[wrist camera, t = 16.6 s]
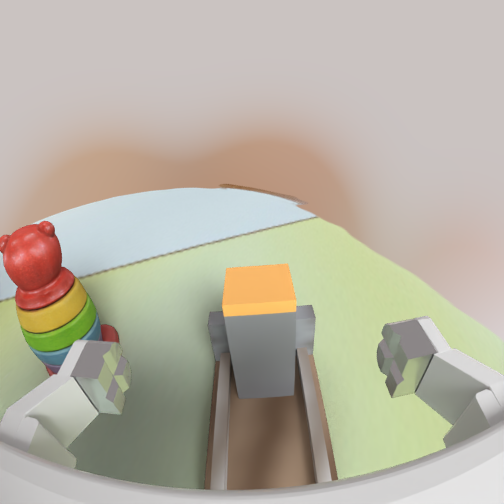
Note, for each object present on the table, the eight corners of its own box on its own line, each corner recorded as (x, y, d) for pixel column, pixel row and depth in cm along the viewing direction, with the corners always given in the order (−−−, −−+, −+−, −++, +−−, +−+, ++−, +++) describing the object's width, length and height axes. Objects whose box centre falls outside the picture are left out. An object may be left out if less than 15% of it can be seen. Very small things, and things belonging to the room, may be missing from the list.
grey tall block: (238, 398, 25) (222, 305, 20) (239, 360, 30) (226, 268, 25) (293, 395, 25) (296, 300, 20) (288, 356, 30) (287, 263, 25)
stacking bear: (117, 327, 37) (75, 199, 29) (125, 381, 28) (61, 228, 20) (50, 345, 33) (-3, 225, 25) (44, 400, 25) (-36, 262, 17)
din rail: (205, 510, 16) (185, 490, 13) (218, 353, 32) (209, 312, 29) (339, 502, 16) (355, 480, 13) (309, 347, 32) (311, 304, 29)
